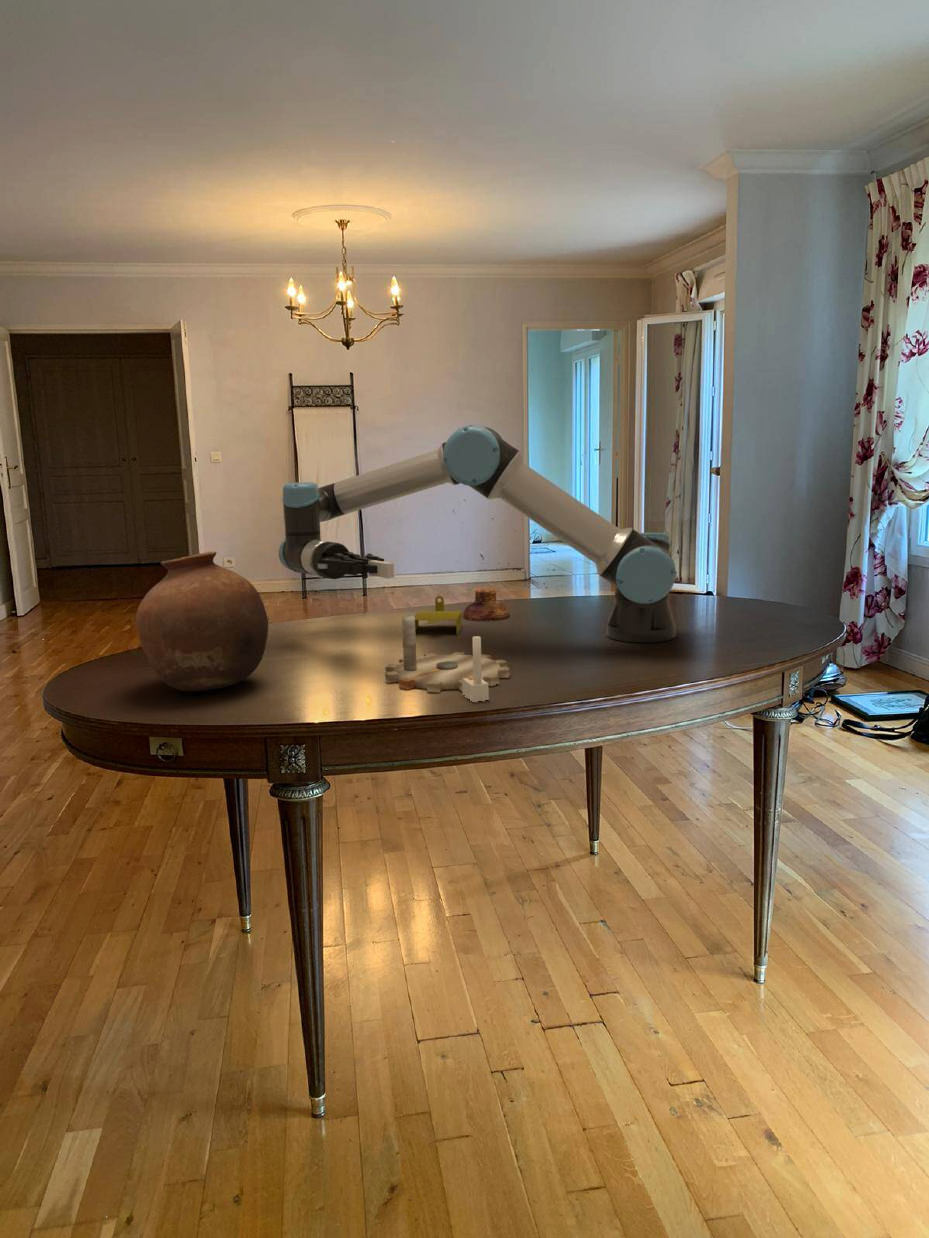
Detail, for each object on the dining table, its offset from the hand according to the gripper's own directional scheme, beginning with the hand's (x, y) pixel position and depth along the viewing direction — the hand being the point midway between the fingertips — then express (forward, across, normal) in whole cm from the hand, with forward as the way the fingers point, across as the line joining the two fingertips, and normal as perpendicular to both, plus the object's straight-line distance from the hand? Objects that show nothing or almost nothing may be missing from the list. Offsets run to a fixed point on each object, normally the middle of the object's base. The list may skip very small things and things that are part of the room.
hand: (390, 570), depth 165 cm
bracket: (-24, -28, -21) cm, 43 cm away
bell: (-30, -49, -20) cm, 61 cm away
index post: (+23, -1, -20) cm, 31 cm away
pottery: (-17, +30, -20) cm, 40 cm away
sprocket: (+8, -6, -20) cm, 23 cm away
